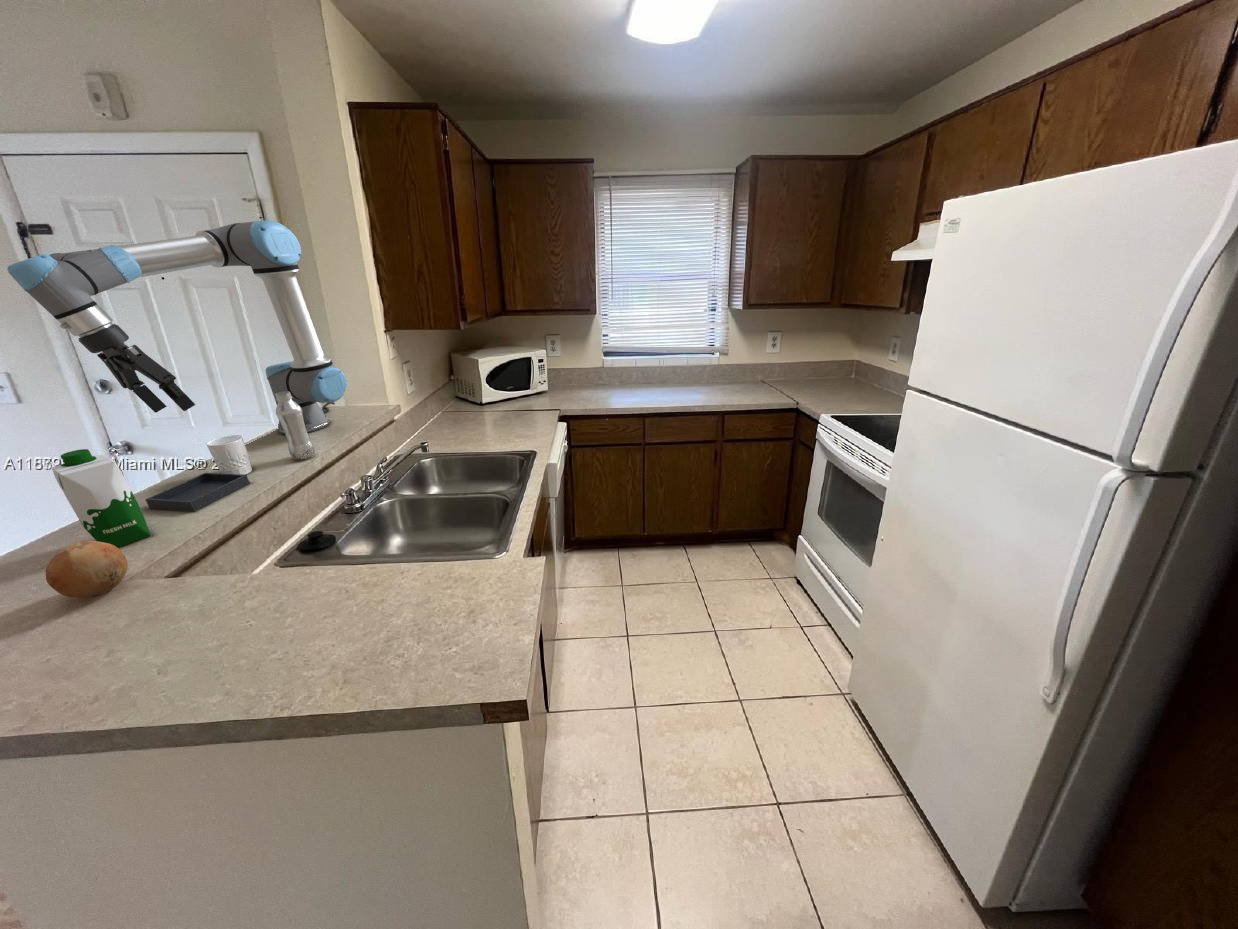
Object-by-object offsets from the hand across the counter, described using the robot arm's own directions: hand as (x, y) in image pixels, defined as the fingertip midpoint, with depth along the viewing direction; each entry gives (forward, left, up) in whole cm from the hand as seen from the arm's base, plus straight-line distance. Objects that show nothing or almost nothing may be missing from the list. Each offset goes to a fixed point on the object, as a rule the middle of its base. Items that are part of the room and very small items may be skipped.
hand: (175, 408), depth 118 cm
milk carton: (+26, +8, -21) cm, 34 cm away
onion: (+41, +23, -21) cm, 52 cm away
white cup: (-7, +2, -21) cm, 23 cm away
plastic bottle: (-19, +13, -21) cm, 32 cm away
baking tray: (+6, +5, -21) cm, 22 cm away
